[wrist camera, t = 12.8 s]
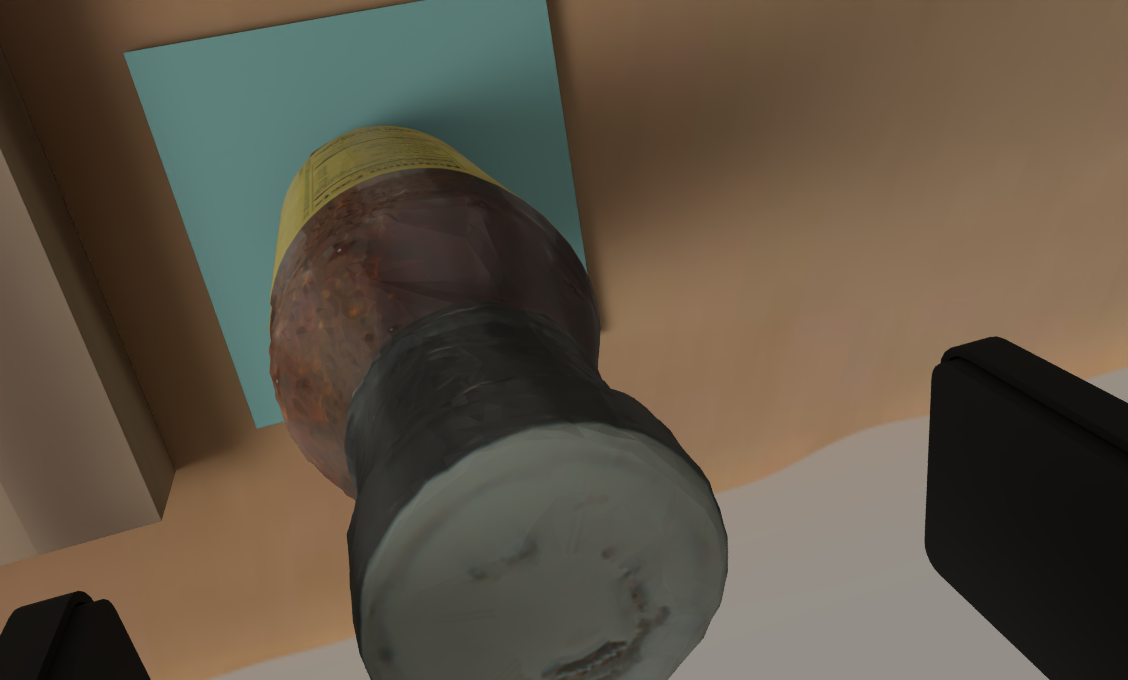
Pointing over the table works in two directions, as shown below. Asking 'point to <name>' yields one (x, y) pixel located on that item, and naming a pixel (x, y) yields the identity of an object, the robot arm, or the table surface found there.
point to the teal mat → (343, 130)
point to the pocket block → (62, 372)
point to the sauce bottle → (479, 429)
